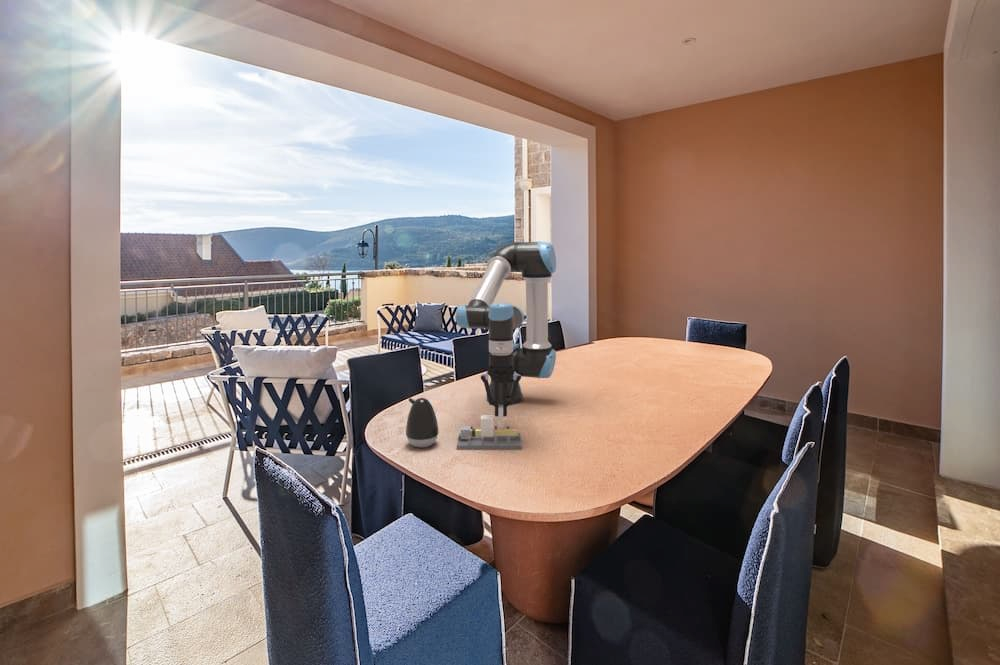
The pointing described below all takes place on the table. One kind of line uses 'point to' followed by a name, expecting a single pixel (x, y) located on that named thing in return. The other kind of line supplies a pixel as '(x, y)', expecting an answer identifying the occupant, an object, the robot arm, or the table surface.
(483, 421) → the sleeve
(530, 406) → the table surface
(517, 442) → the cable comb
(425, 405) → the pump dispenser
